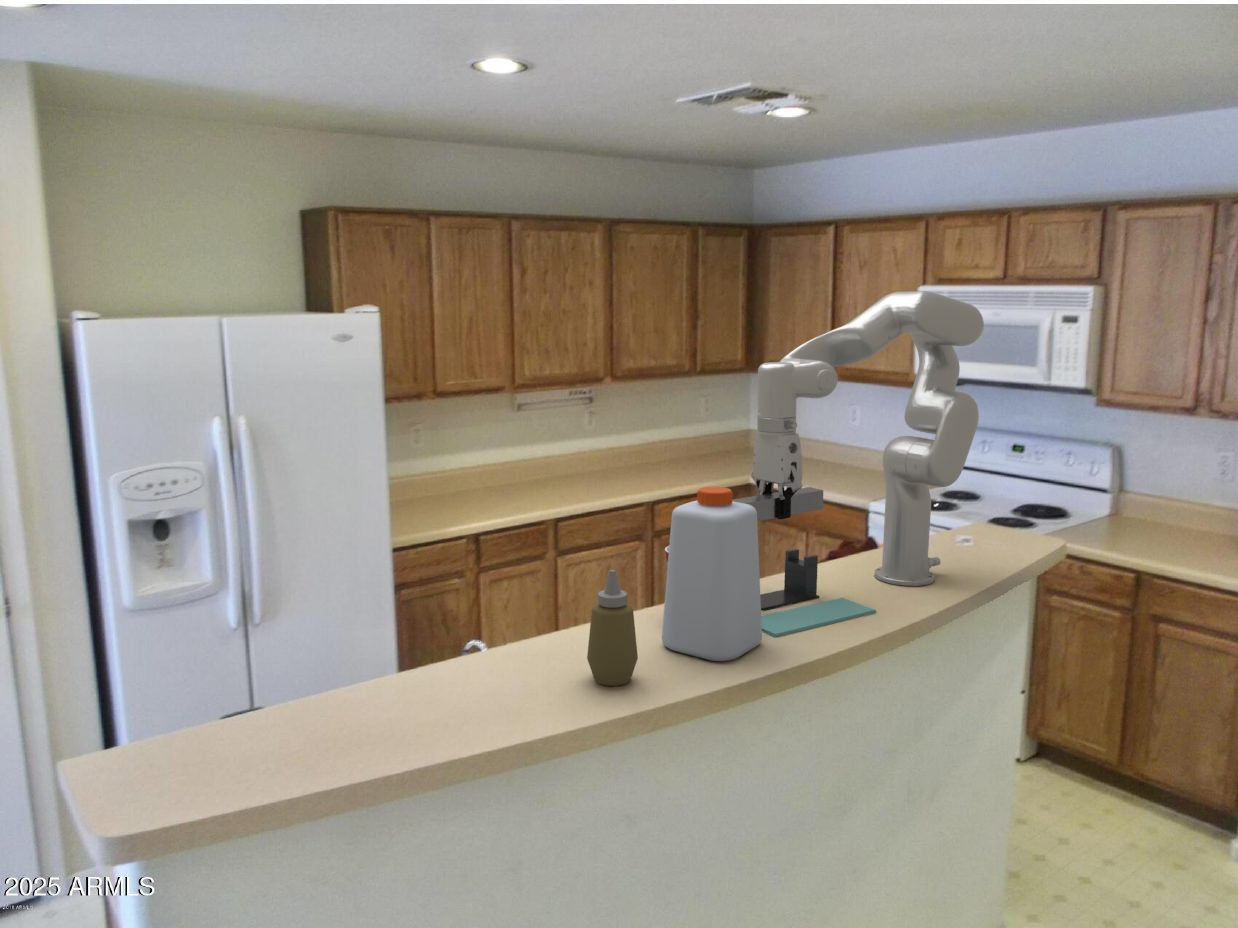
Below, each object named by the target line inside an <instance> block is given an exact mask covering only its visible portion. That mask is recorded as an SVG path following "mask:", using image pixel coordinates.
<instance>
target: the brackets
mask: <svg viewBox="0 0 1238 928" xmlns="http://www.w3.org/2000/svg"><path fill="white" fill-rule="evenodd" d="M818 557H819V555H816V554H812V555H807V556H803V559H800V549H798V548H794V549H788V550H785V558H784V559H785V560H784V582H783V583H784V585H783V587H784V588H783V589H781V590H776V591H771V592H767V593H766V592H765V593H762V594H761V593H760V598H761V612H762V611H767V610H772V609H777V608H781V607H785V606H789V605H794V604H799V603H804V602H807V601H809V602H810V601H812V600H817V599H818V600H819V599H820V595H818V594H817V593H818V591H817V589H818V587H817V586H818V562H819V561H818V560H819V559H818Z"/></svg>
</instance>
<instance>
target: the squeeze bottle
mask: <svg viewBox="0 0 1238 928" xmlns="http://www.w3.org/2000/svg"><path fill="white" fill-rule="evenodd" d="M634 616H635V615H634V609H633V607H632V606H631V605H630V604H628V593H627V592H626V590H622V589H621V586H620V580H619V577H618V572H617V570H616V569H610V570H608V573H607V578H606V582H605V587H604V589H603V590H599V592H598V593H597V604H596V605H595V606H593V608H592V609H591V615H590V625H589V637H588V646H587V655H586V656H587V657H586V659H587V663H588V665H589V667H590V671H591V674H592V677H593V679H594V682H595V683H597V684H599V685H603V686H605V687H606V686H608V687H617V686H623V685H626V684H628V683H629V682H630V681H631V679H632V677H633V673H634V671H635V667H636V664H637V662H638V659H639V658H638V657H639V655H638V654H639V653H638V646H637V635H636V626H635V625H636V624H635V617H634Z"/></svg>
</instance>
